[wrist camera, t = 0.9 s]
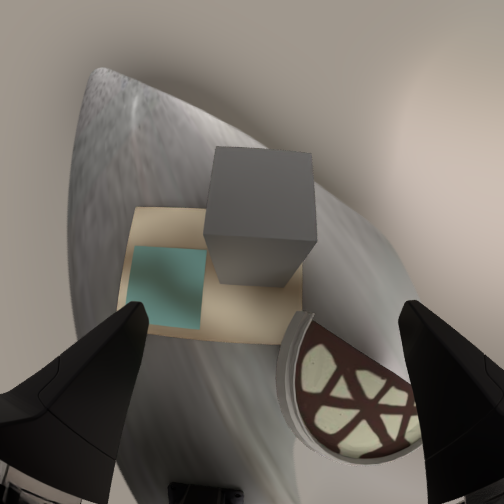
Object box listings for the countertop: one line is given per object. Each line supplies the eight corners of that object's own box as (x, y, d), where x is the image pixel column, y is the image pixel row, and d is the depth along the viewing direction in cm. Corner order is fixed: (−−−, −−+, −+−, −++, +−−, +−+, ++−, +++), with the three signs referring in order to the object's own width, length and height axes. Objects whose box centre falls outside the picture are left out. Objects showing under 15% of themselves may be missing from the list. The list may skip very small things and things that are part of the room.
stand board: (298, 344, 21) (314, 345, 16) (119, 329, 20) (90, 323, 16) (299, 219, 24) (312, 190, 20) (139, 211, 24) (120, 183, 19)
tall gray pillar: (283, 287, 21) (317, 241, 12) (220, 284, 21) (202, 234, 12) (284, 229, 23) (311, 153, 13) (225, 225, 23) (215, 146, 13)
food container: (234, 380, 20) (225, 412, 11) (278, 321, 22) (304, 306, 12) (348, 446, 18) (403, 493, 9) (387, 391, 20) (459, 408, 10)
